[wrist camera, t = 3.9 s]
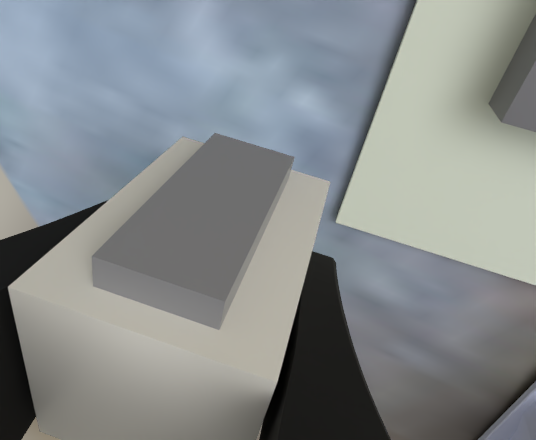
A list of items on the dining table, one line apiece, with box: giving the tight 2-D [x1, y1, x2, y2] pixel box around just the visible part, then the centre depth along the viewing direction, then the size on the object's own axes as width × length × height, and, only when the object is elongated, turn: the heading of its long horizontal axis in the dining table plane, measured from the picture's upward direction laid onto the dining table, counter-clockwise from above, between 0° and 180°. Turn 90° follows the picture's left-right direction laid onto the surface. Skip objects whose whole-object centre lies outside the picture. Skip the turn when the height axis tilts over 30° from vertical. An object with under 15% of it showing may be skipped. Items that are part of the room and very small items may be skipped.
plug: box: [8, 133, 330, 440], centre depth 9 cm, size 5×4×6 cm
